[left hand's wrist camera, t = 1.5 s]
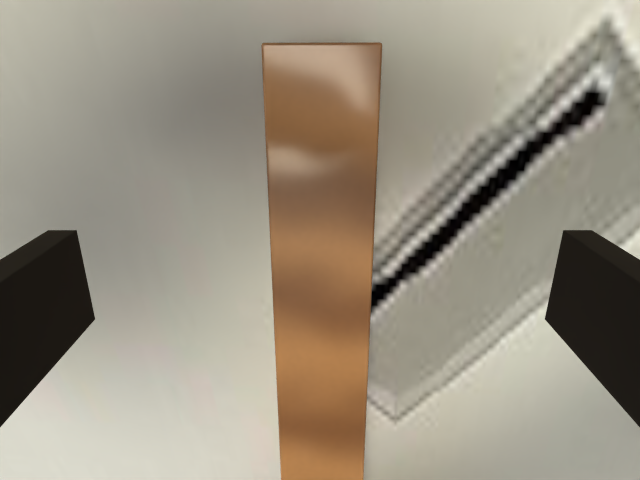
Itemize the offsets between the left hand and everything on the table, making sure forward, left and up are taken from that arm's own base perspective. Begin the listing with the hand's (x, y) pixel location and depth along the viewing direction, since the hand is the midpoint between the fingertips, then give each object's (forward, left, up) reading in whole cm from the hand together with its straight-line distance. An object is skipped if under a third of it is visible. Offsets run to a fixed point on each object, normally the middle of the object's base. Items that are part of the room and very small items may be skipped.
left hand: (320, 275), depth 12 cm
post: (+17, -19, -16) cm, 31 cm away
